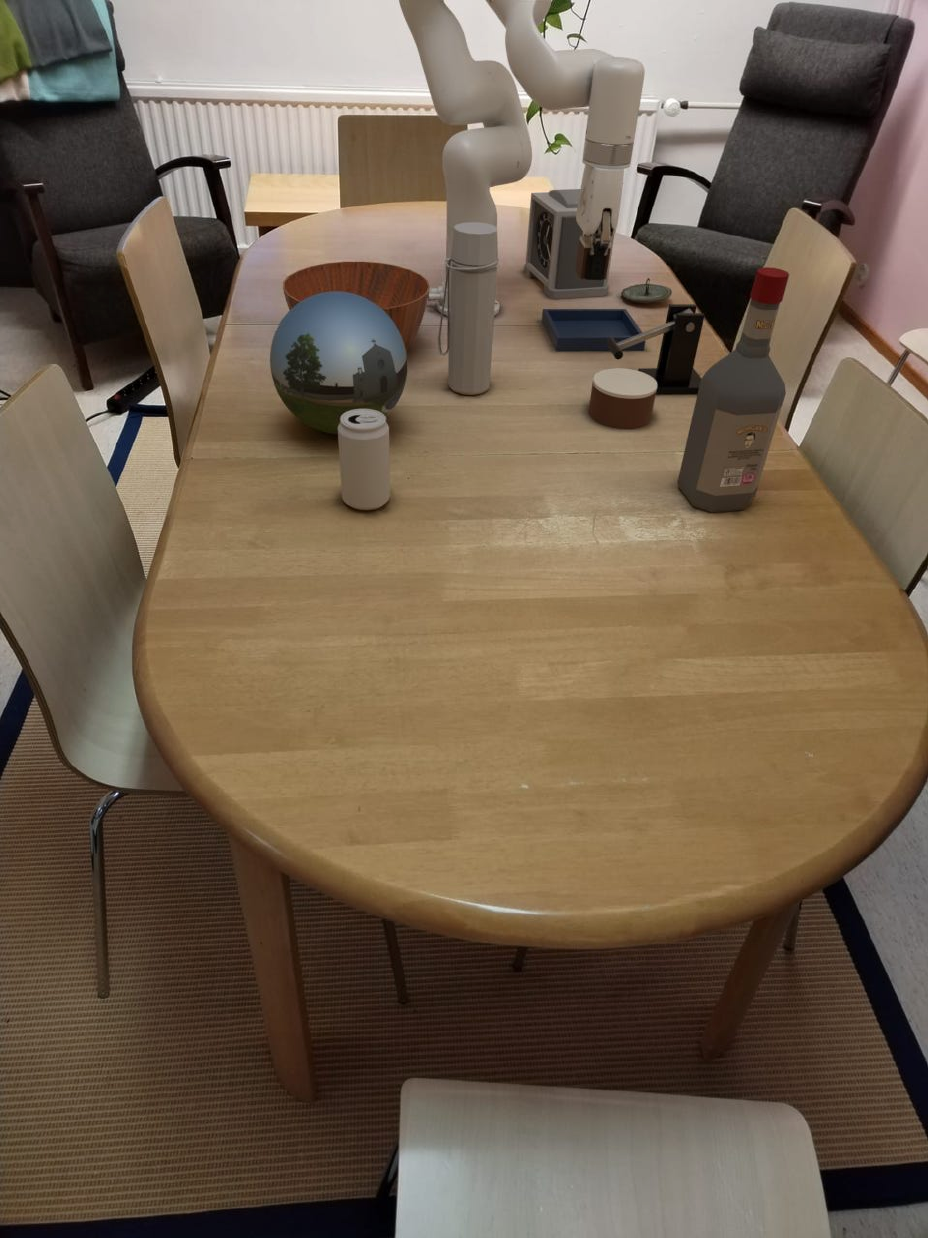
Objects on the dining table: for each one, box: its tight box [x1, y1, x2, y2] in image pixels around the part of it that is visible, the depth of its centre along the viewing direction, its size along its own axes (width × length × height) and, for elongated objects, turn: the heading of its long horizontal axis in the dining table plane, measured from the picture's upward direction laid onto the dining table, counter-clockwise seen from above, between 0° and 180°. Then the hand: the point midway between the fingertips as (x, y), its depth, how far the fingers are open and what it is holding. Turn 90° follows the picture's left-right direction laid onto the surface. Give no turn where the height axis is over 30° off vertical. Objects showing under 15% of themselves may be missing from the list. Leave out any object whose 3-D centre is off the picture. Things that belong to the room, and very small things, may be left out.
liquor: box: [677, 266, 790, 513], centre depth 108 cm, size 9×9×30 cm
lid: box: [620, 277, 673, 304], centre depth 176 cm, size 11×10×5 cm
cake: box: [588, 367, 657, 430], centre depth 134 cm, size 10×10×6 cm
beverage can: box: [337, 409, 391, 511], centre depth 109 cm, size 6×6×12 cm
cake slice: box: [576, 236, 611, 280], centre depth 141 cm, size 4×4×6 cm
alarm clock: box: [523, 188, 615, 300], centre depth 178 cm, size 18×13×18 cm
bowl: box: [282, 261, 431, 352], centre depth 148 cm, size 25×25×11 cm
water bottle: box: [437, 222, 500, 396], centre depth 133 cm, size 9×8×25 cm
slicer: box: [637, 303, 706, 396], centre depth 141 cm, size 10×8×13 cm
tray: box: [541, 308, 647, 352], centre depth 160 cm, size 17×15×2 cm
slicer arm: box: [606, 309, 693, 360], centre depth 139 cm, size 14×6×2 cm, turn 96°
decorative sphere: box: [269, 291, 408, 435], centre depth 122 cm, size 20×20×20 cm
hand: (590, 272), depth 143 cm, fingers closed on cake slice, 4 cm apart
